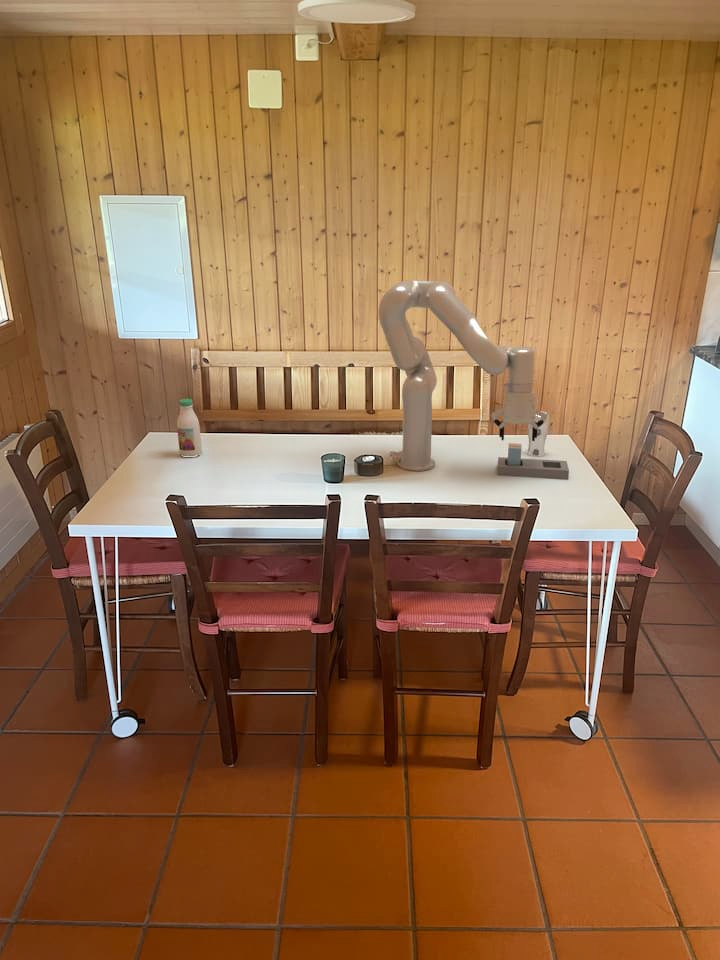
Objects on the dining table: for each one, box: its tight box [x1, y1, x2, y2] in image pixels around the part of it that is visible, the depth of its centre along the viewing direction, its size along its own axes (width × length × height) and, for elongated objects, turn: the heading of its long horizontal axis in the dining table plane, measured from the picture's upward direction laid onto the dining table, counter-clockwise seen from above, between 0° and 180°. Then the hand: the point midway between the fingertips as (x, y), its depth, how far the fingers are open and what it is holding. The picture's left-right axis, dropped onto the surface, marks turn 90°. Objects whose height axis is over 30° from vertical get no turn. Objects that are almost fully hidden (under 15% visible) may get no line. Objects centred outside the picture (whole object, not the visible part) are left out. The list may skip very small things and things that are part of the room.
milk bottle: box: [176, 398, 203, 456], centre depth 243 cm, size 8×8×20 cm
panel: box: [496, 456, 570, 480], centre depth 226 cm, size 22×9×4 cm, turn 79°
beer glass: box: [526, 410, 550, 458], centre depth 241 cm, size 7×7×15 cm
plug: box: [507, 442, 522, 466], centre depth 226 cm, size 4×4×9 cm
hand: (517, 439), depth 223 cm, fingers open, 9 cm apart
